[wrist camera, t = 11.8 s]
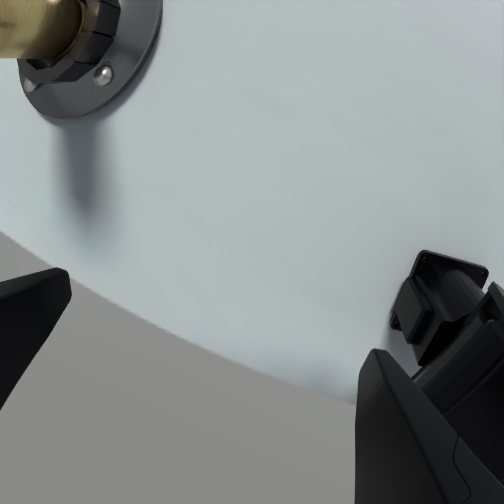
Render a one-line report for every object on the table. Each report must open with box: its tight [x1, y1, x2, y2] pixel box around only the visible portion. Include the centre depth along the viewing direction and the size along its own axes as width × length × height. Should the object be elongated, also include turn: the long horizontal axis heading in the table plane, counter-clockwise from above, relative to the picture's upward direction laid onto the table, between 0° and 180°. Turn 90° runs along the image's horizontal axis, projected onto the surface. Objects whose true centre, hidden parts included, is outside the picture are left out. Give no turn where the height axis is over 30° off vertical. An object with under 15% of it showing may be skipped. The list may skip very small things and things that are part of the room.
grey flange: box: [17, 0, 162, 118], centre depth 15 cm, size 14×14×4 cm
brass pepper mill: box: [0, 0, 88, 60], centre depth 9 cm, size 5×5×14 cm
